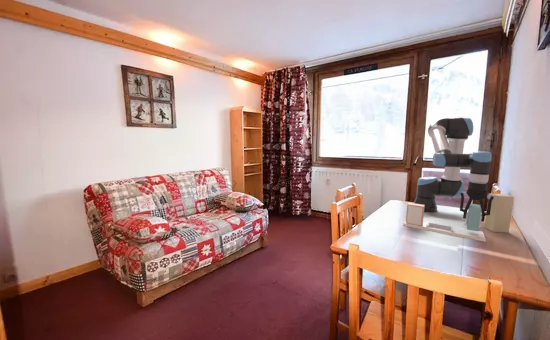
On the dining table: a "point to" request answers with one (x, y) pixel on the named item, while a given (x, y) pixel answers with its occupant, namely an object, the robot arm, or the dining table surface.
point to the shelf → (450, 230)
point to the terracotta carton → (415, 214)
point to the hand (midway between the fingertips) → (472, 225)
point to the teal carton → (474, 217)
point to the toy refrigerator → (500, 213)
